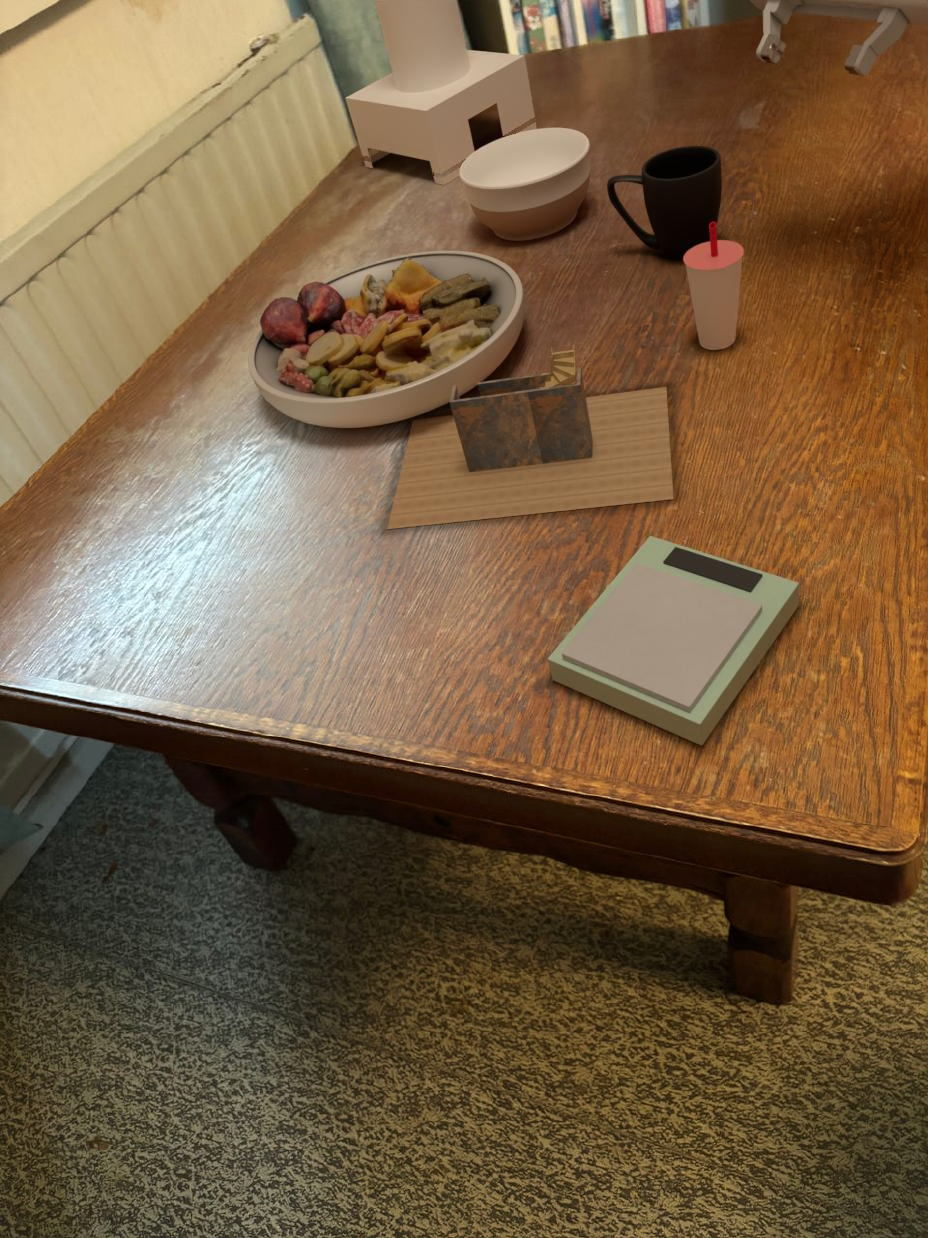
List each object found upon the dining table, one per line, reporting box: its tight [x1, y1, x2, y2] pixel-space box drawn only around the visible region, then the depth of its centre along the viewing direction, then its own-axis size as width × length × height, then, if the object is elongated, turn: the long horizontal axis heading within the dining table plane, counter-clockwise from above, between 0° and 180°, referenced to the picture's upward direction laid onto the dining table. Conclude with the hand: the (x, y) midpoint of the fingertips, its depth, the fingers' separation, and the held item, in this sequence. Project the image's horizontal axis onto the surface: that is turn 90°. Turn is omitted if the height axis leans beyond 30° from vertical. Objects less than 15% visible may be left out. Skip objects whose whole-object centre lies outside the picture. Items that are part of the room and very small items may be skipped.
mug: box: [606, 145, 723, 261], centre depth 105 cm, size 8×12×10 cm
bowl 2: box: [458, 127, 591, 242], centre depth 119 cm, size 16×16×8 cm
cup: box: [682, 222, 745, 351], centre depth 90 cm, size 5×5×12 cm
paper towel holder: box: [345, 0, 538, 186], centre depth 135 cm, size 19×19×30 cm
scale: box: [547, 535, 800, 746], centre depth 68 cm, size 12×14×3 cm
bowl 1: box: [247, 250, 526, 429], centre depth 102 cm, size 30×30×8 cm
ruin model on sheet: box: [386, 345, 675, 530], centre depth 85 cm, size 25×16×10 cm, turn 84°
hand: (808, 65), depth 84 cm, fingers open, 8 cm apart
